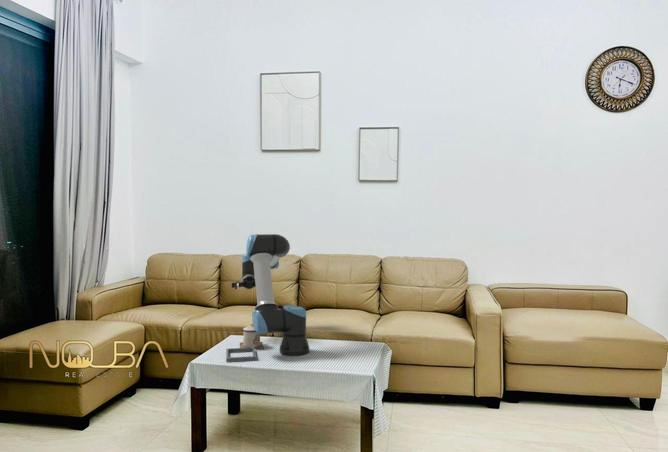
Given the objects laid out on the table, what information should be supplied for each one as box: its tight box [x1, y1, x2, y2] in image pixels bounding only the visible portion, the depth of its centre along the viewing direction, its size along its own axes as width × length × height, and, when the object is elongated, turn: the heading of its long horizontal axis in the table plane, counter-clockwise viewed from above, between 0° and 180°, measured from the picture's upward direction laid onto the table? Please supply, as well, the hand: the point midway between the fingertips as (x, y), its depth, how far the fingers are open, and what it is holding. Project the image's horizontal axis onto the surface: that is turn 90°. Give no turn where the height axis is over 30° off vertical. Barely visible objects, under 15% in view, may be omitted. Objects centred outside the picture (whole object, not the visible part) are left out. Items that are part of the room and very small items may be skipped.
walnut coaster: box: [239, 341, 264, 350], centre depth 265 cm, size 12×12×1 cm
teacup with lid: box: [242, 322, 261, 348], centre depth 265 cm, size 12×9×12 cm
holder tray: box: [225, 347, 257, 363], centre depth 247 cm, size 14×17×2 cm
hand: (250, 287), depth 274 cm, fingers open, 13 cm apart
